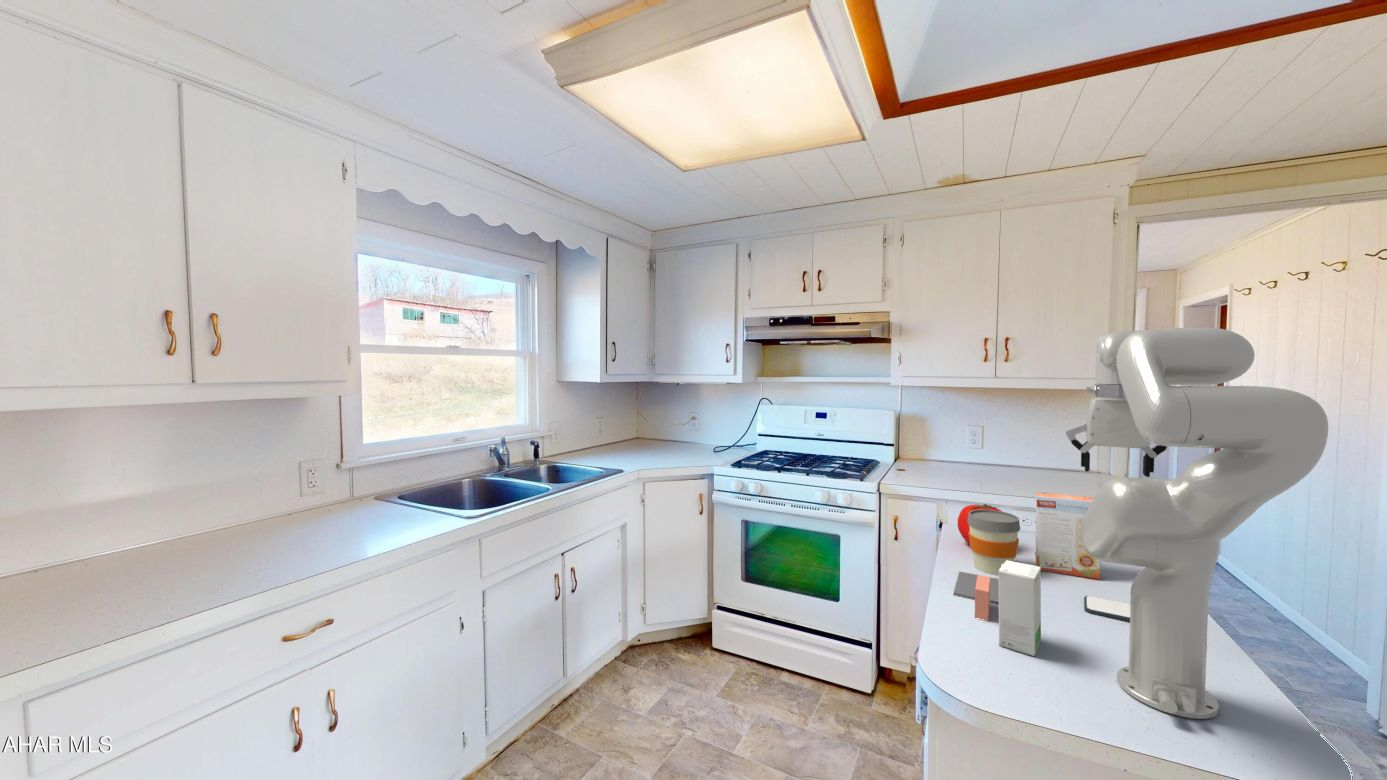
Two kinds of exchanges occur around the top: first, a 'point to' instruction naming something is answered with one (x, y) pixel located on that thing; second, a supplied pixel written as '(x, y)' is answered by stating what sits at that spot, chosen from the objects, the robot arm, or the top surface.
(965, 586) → the mat
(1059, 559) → the cracker box
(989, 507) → the tomato
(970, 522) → the reusable coffee cup
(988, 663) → the top surface
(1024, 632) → the skincare box
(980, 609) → the card box
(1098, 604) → the smartphone
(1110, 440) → the robot arm
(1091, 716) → the top surface
